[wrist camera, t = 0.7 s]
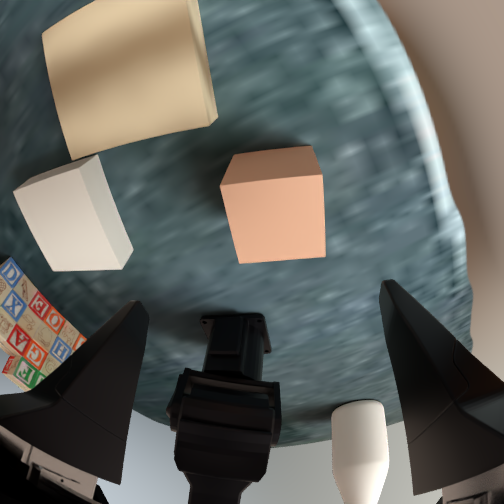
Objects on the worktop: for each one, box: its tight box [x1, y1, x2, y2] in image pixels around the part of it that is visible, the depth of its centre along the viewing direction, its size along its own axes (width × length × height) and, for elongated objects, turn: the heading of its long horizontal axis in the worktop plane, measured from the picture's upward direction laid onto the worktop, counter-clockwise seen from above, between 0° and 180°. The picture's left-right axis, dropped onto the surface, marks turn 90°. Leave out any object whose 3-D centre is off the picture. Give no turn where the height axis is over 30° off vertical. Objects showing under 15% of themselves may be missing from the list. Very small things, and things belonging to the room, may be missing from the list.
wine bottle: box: [331, 400, 389, 504], centre depth 30 cm, size 10×10×30 cm
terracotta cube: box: [220, 146, 325, 264], centre depth 17 cm, size 5×5×5 cm
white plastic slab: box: [13, 154, 133, 271], centre depth 20 cm, size 9×9×3 cm
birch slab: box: [42, 0, 218, 160], centre depth 13 cm, size 10×10×3 cm
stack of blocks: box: [0, 257, 87, 392], centre depth 28 cm, size 21×6×12 cm, turn 23°
